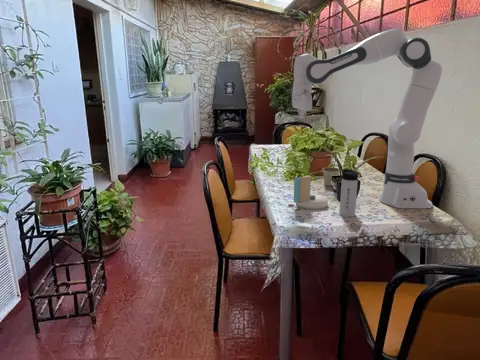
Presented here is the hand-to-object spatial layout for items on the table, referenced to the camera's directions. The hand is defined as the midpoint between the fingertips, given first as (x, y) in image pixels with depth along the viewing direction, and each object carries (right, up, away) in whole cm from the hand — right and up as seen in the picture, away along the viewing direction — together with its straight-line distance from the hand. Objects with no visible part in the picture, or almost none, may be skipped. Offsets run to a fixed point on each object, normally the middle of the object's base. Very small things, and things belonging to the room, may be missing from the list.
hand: (301, 118), depth 181 cm
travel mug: (+15, -46, -26) cm, 55 cm away
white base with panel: (+1, -41, -15) cm, 44 cm away
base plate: (+2, -42, -14) cm, 45 cm away
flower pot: (+19, -33, +19) cm, 43 cm away
